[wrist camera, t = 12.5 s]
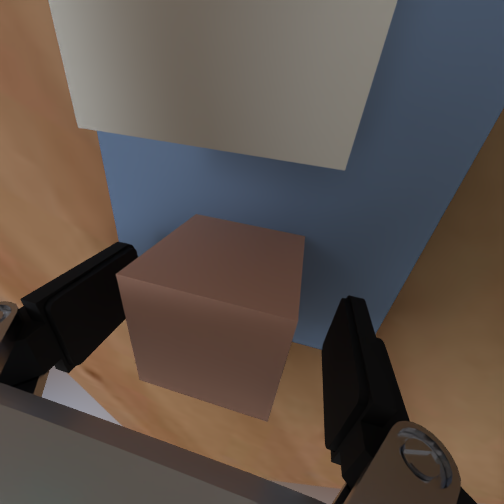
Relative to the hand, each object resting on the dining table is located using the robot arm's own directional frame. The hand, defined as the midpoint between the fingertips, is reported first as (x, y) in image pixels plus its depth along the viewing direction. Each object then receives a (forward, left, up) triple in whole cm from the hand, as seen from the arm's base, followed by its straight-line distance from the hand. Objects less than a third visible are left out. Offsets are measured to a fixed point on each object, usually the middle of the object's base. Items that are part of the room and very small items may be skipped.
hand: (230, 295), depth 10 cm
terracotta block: (0, 0, -2) cm, 2 cm away
